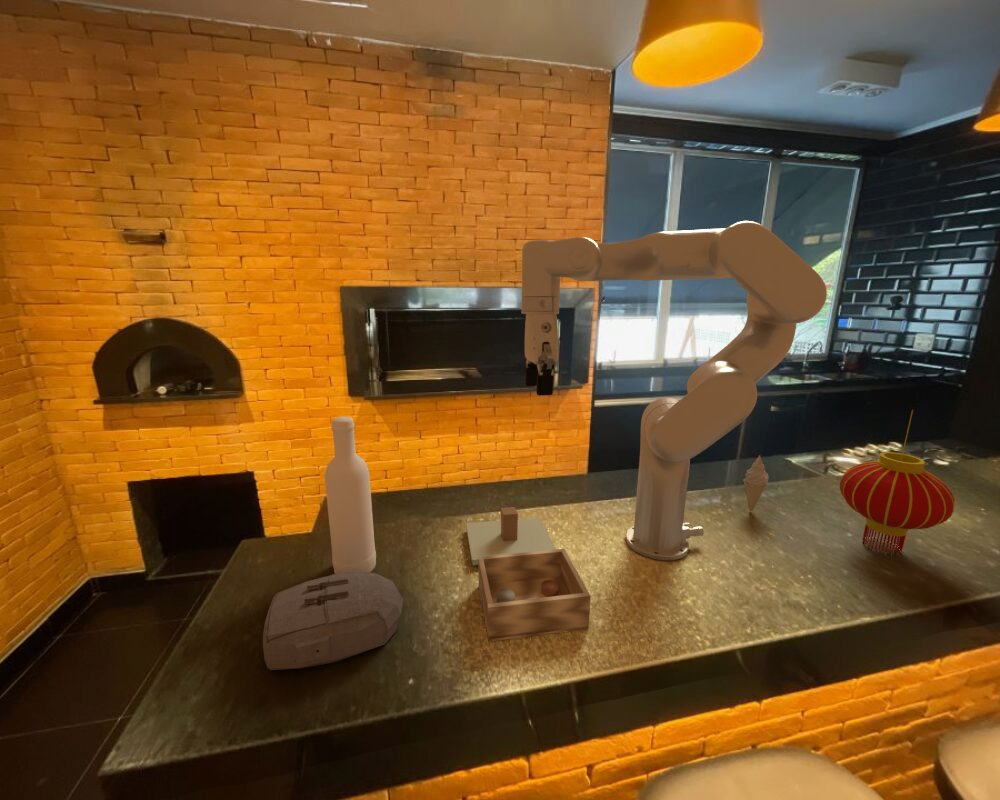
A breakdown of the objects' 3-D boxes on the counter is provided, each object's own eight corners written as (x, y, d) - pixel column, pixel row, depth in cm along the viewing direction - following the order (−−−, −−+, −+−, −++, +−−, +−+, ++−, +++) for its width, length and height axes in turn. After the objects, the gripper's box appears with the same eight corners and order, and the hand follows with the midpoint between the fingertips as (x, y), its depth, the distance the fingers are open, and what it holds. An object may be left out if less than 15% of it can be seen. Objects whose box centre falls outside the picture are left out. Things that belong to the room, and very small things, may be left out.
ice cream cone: (767, 517, 101) (776, 458, 98) (745, 517, 101) (754, 458, 98) (755, 507, 106) (763, 451, 103) (734, 507, 106) (742, 451, 103)
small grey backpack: (258, 692, 56) (410, 652, 63) (249, 639, 54) (407, 604, 61) (276, 615, 70) (399, 589, 77) (269, 570, 68) (396, 547, 75)
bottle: (332, 560, 84) (318, 415, 78) (373, 551, 87) (363, 411, 81) (334, 585, 77) (318, 427, 70) (379, 574, 80) (367, 422, 73)
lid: (539, 525, 98) (540, 493, 96) (556, 561, 85) (558, 524, 83) (466, 532, 96) (465, 498, 94) (472, 569, 82) (471, 531, 80)
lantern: (847, 519, 101) (873, 396, 94) (950, 555, 86) (989, 413, 80) (815, 540, 92) (841, 406, 85) (924, 584, 78) (965, 427, 71)
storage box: (563, 577, 79) (564, 548, 78) (588, 628, 67) (590, 595, 66) (478, 586, 77) (478, 557, 76) (488, 641, 64) (488, 607, 63)
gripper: (572, 307, 77) (568, 398, 81) (546, 305, 94) (544, 381, 98) (532, 307, 76) (530, 400, 80) (513, 305, 93) (512, 382, 96)
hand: (538, 390), depth 89 cm, fingers open, 9 cm apart
